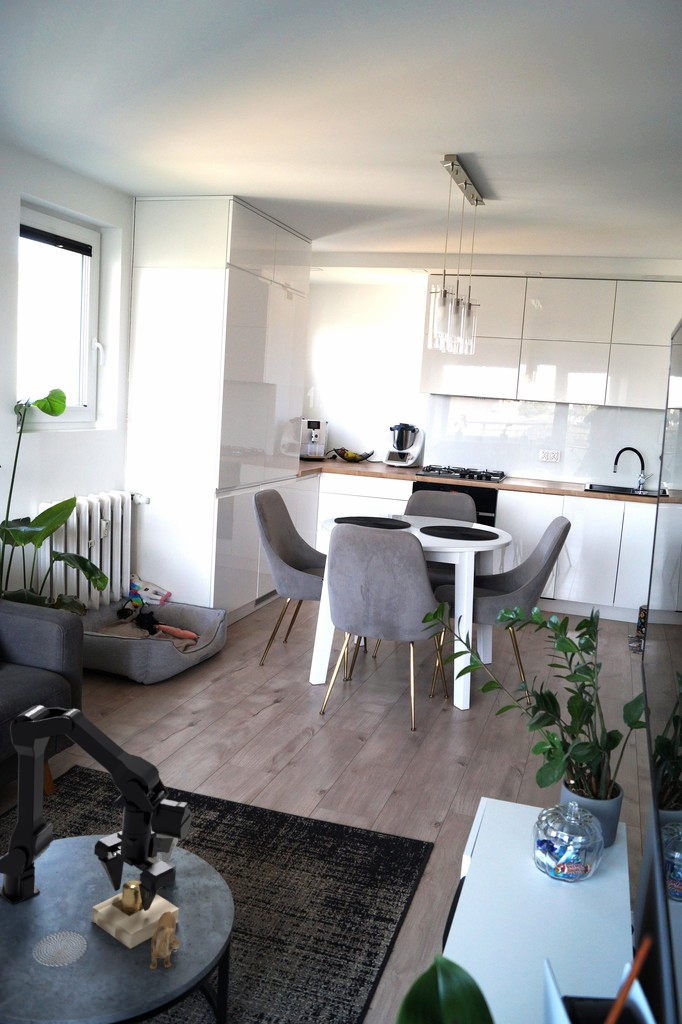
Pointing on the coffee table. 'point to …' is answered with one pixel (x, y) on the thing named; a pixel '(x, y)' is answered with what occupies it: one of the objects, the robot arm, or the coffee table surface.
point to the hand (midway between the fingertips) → (131, 899)
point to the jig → (131, 919)
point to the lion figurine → (164, 940)
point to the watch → (168, 856)
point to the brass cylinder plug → (131, 898)
